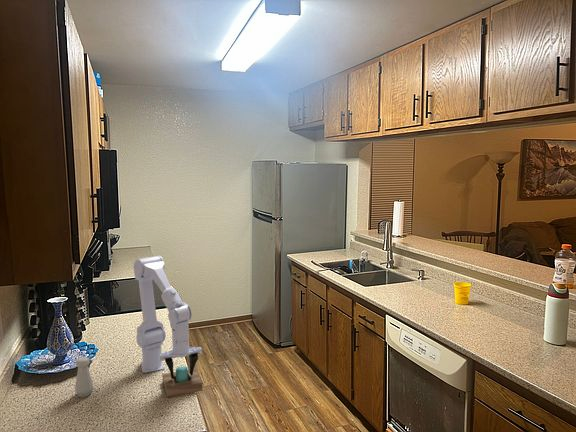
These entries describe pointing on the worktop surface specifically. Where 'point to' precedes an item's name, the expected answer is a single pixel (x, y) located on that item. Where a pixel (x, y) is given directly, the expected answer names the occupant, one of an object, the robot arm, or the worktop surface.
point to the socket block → (182, 384)
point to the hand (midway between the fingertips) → (181, 375)
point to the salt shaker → (83, 378)
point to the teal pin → (181, 374)
